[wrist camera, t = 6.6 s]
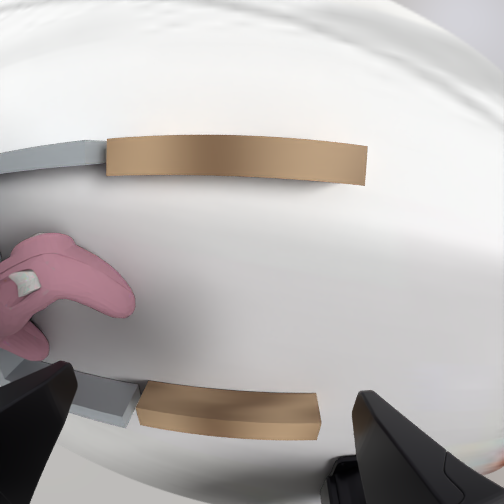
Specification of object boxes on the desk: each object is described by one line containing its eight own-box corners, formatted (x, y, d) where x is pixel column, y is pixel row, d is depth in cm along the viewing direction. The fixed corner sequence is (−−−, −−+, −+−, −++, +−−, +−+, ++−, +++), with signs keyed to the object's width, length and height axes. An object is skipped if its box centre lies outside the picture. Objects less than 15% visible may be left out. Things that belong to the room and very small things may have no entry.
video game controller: (122, 232, 16) (22, 202, 10) (149, 311, 15) (42, 316, 9) (29, 299, 18) (-52, 295, 11) (46, 361, 17) (-37, 373, 10)
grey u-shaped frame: (117, 141, 13) (85, 140, 10) (140, 395, 18) (125, 428, 15) (-16, 159, 14) (-49, 164, 11) (21, 364, 18) (0, 386, 15)
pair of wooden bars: (350, 148, 13) (367, 146, 11) (312, 410, 17) (316, 439, 15) (131, 140, 13) (106, 138, 11) (151, 397, 18) (140, 424, 15)
